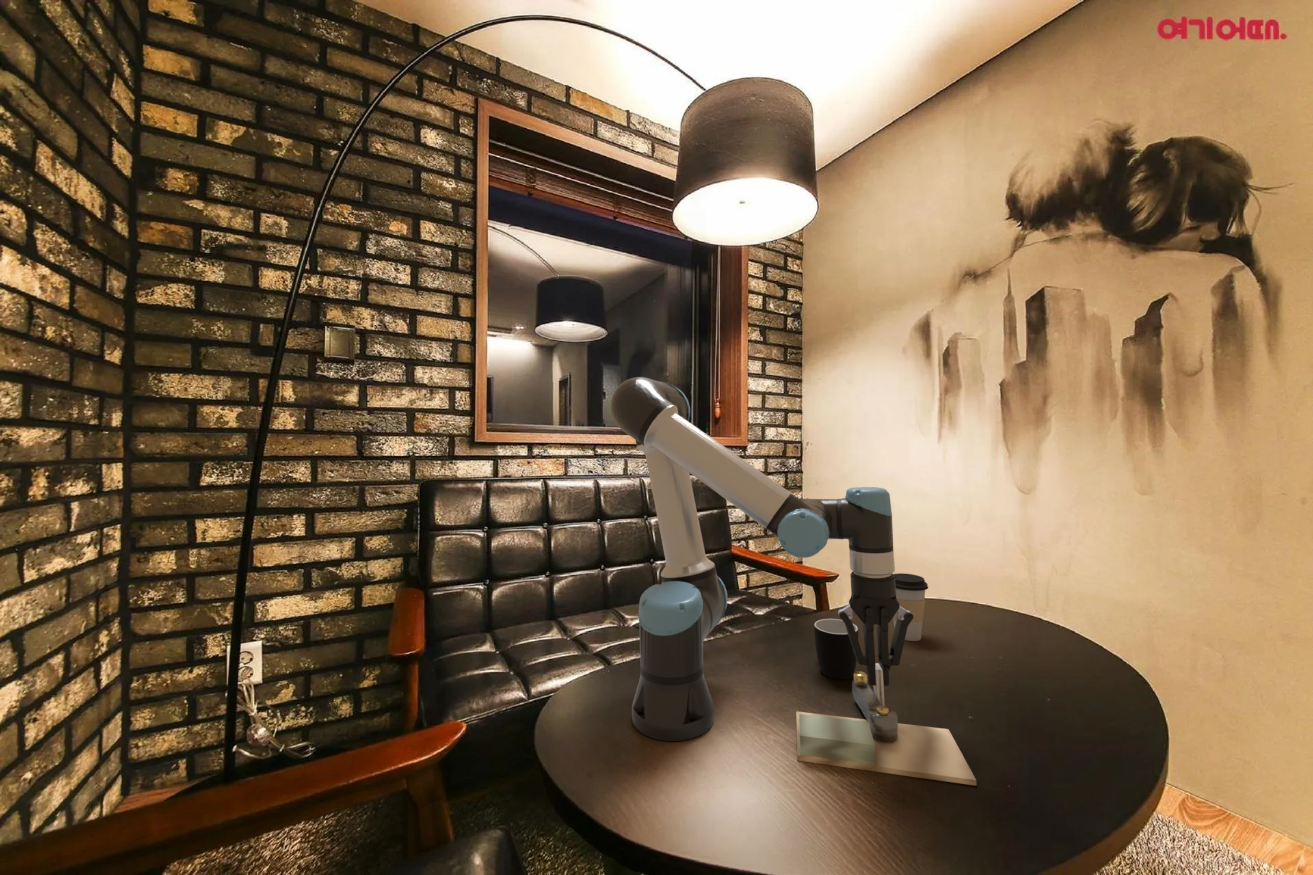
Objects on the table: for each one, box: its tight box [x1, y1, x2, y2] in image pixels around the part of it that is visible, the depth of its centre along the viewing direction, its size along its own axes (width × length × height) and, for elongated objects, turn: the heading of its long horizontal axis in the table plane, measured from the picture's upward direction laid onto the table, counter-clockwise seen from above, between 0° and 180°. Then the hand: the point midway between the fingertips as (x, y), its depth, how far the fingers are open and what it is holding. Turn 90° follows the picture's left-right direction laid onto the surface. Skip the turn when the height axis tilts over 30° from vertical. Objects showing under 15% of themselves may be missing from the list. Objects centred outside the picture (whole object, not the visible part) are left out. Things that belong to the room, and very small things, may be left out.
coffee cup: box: [892, 572, 929, 642], centre depth 125 cm, size 9×9×15 cm
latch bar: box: [851, 670, 898, 742], centre depth 88 cm, size 15×4×5 cm, turn 175°
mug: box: [813, 618, 859, 680], centre depth 108 cm, size 12×9×10 cm
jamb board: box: [795, 711, 977, 786], centre depth 81 cm, size 25×13×4 cm, turn 75°
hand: (879, 702), depth 90 cm, fingers closed
